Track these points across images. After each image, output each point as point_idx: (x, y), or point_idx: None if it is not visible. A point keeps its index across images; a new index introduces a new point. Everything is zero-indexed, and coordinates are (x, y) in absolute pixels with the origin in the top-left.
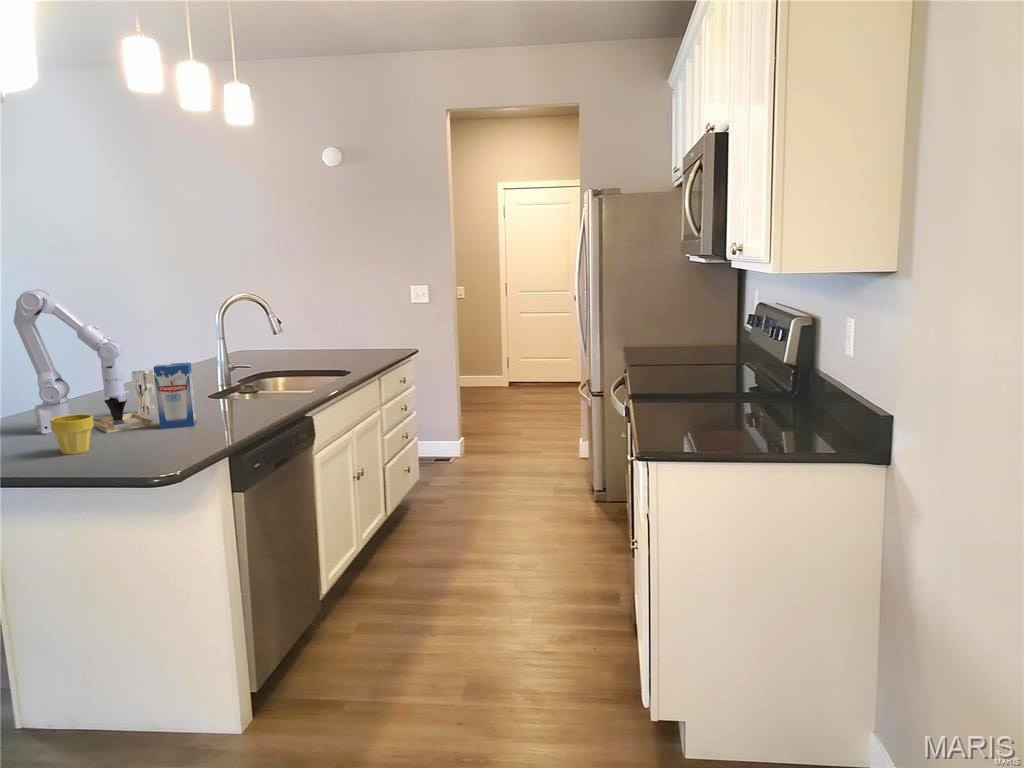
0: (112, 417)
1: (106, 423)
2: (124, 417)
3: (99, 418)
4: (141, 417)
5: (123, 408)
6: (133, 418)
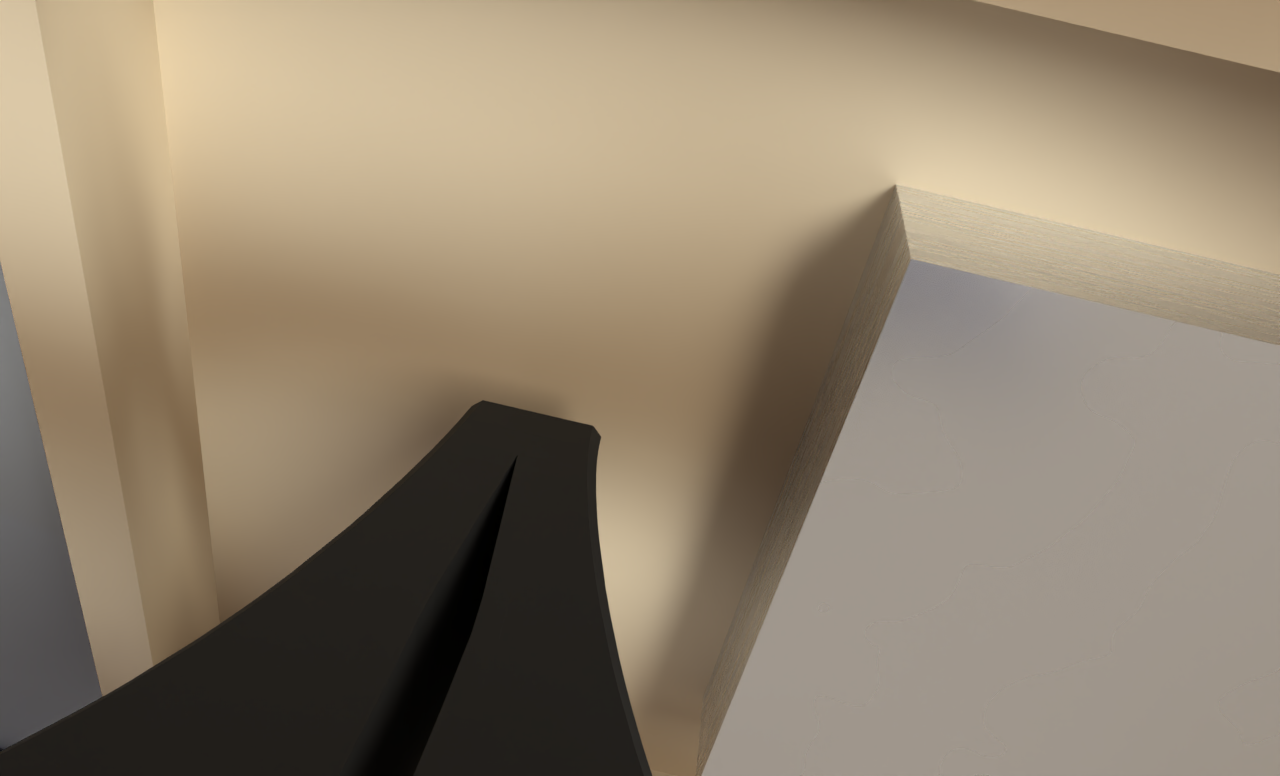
0: (134, 448)
1: None
2: (120, 110)
3: (134, 676)
4: (1144, 33)
5: (633, 737)
6: (1018, 337)
